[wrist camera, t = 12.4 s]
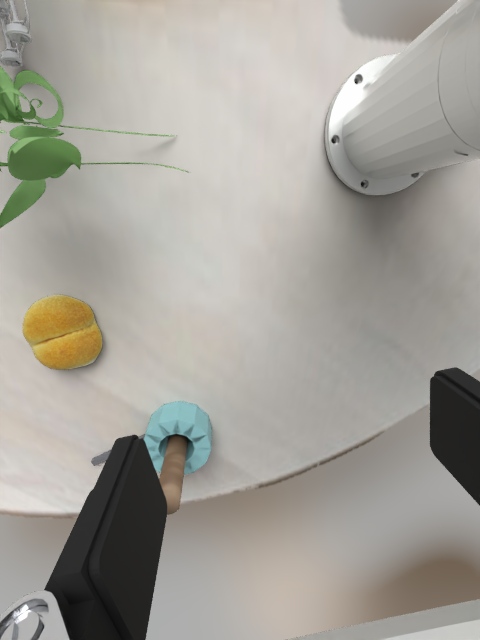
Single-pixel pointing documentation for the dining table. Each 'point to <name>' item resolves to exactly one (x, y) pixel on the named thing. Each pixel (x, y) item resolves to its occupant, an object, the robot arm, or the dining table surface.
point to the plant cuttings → (34, 145)
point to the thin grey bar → (105, 456)
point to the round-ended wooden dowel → (173, 470)
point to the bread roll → (62, 332)
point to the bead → (182, 422)
